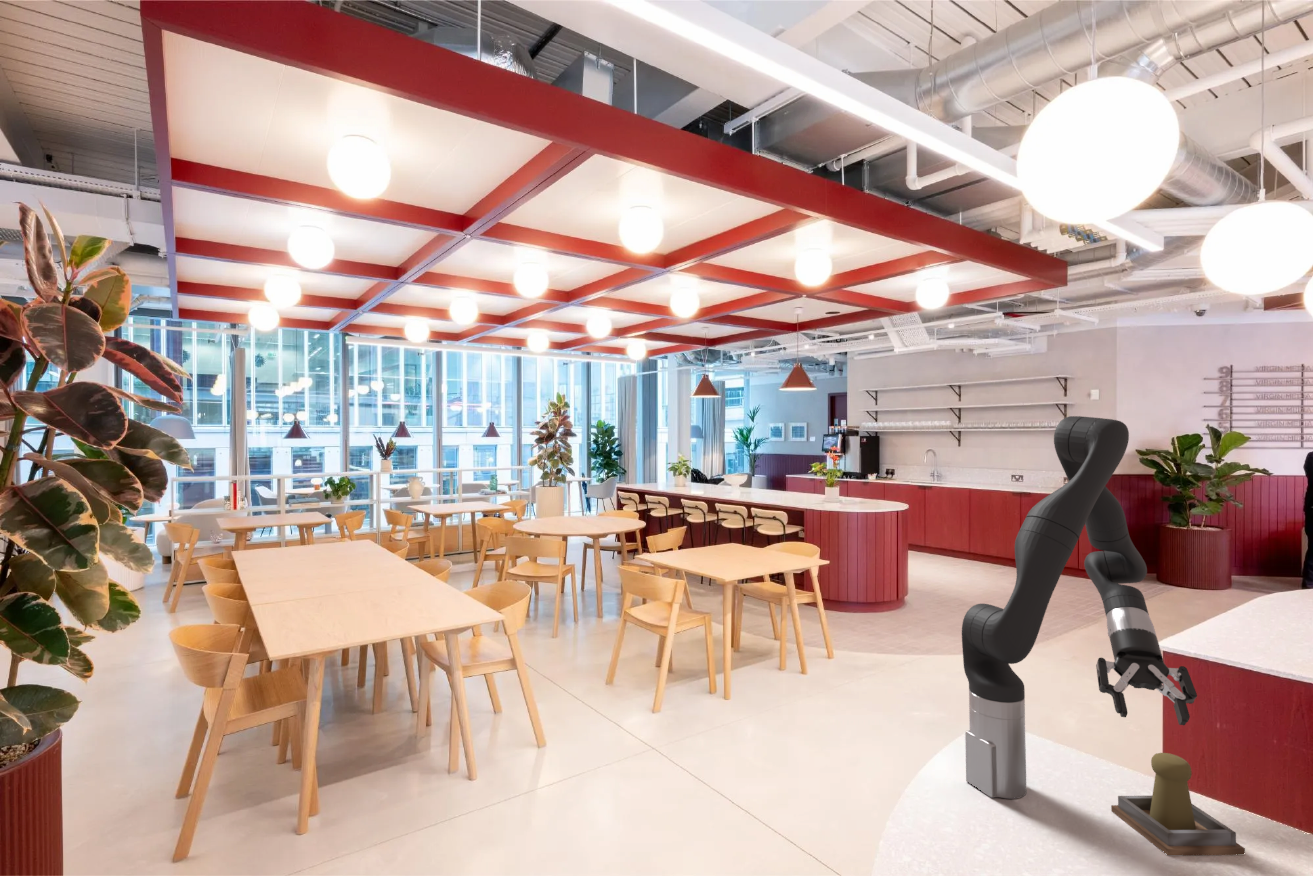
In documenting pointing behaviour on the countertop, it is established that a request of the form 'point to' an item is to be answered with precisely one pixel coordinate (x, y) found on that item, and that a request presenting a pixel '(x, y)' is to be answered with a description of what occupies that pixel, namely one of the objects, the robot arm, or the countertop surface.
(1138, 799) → the plate
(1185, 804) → the cork
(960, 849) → the countertop surface
